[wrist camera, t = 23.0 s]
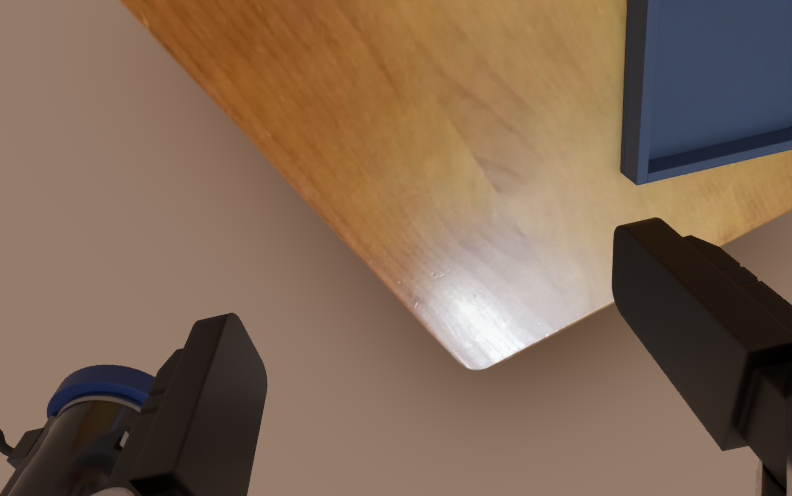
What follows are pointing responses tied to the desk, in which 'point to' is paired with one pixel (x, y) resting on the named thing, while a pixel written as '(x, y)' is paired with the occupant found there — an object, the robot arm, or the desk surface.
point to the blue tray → (705, 85)
